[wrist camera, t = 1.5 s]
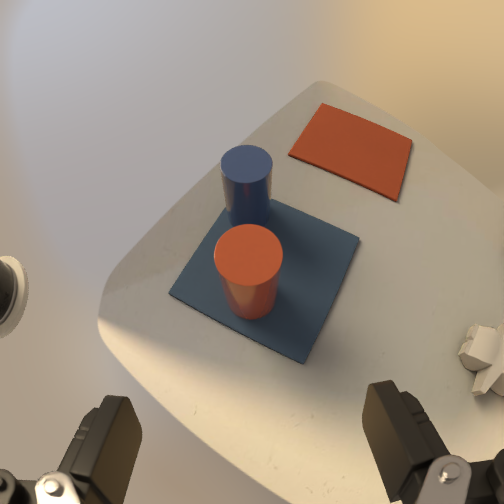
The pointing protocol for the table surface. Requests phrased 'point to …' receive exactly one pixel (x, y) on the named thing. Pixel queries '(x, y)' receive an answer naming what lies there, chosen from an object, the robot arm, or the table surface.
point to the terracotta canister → (249, 269)
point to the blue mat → (290, 282)
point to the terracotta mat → (354, 150)
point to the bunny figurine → (485, 358)
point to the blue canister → (247, 185)
